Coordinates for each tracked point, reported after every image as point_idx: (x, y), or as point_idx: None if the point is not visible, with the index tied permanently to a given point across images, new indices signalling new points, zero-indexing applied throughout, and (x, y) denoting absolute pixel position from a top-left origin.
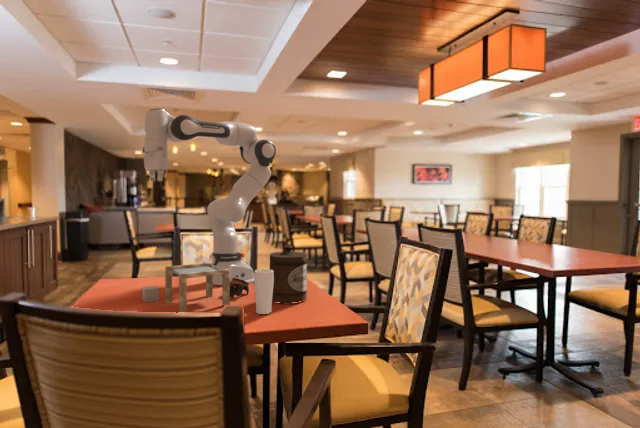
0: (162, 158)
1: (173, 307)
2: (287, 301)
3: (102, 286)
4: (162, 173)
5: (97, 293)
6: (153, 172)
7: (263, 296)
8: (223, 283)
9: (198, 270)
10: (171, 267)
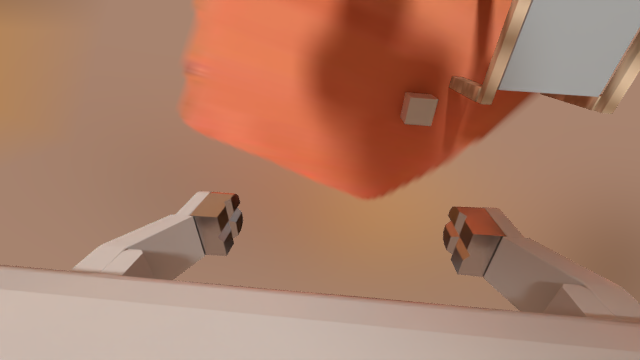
0: None
1: None
2: None
3: (248, 143)
4: (583, 284)
5: (303, 162)
6: (145, 275)
7: None
8: None
9: (575, 32)
10: (495, 91)
